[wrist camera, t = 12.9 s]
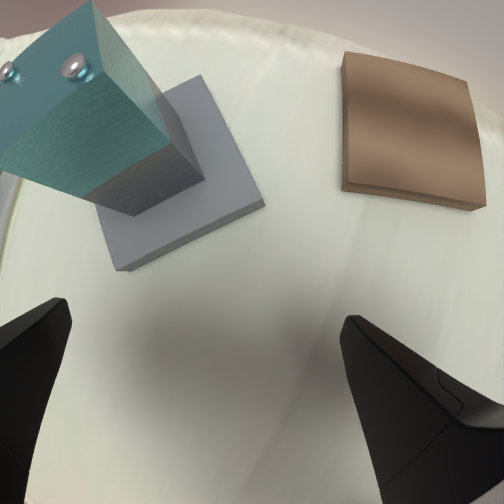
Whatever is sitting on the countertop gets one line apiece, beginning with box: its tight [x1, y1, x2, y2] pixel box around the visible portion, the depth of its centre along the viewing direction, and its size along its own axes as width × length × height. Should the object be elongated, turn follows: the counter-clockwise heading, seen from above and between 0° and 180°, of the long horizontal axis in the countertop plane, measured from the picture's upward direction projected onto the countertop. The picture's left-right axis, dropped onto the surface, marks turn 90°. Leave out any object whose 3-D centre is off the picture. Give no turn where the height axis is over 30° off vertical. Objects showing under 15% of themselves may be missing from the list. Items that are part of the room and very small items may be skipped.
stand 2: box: [341, 51, 486, 211], centre depth 17 cm, size 10×10×2 cm
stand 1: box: [95, 74, 265, 271], centre depth 19 cm, size 10×10×2 cm
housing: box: [0, 0, 206, 217], centre depth 12 cm, size 5×5×11 cm
